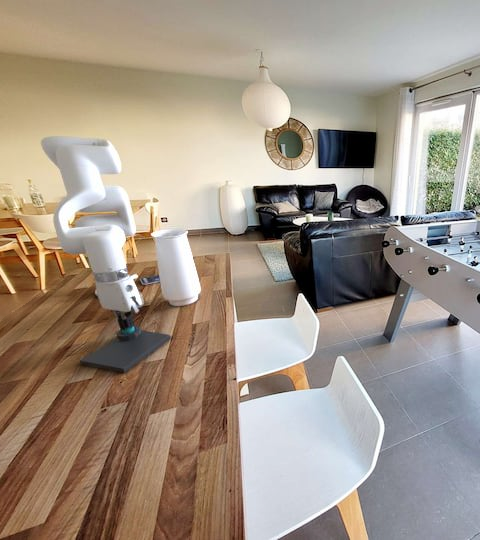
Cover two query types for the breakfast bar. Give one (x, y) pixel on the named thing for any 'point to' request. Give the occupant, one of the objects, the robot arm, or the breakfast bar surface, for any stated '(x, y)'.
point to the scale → (125, 350)
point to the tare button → (128, 330)
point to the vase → (176, 267)
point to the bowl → (141, 300)
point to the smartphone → (150, 280)
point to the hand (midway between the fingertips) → (127, 327)
